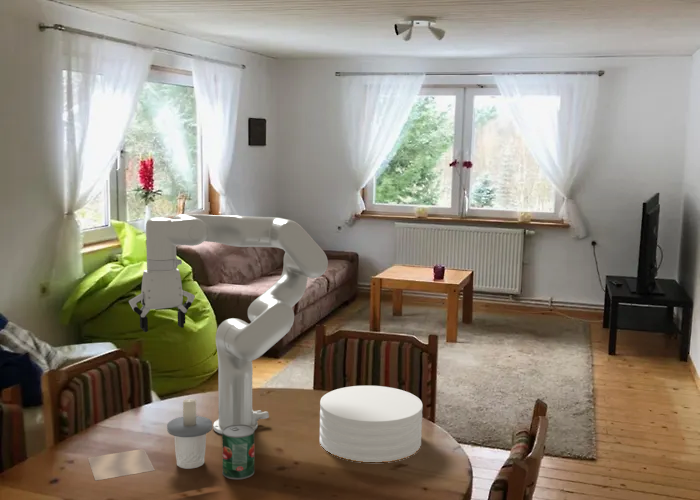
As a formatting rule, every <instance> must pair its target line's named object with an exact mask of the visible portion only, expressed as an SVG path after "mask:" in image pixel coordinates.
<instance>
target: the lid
mask: <svg viewBox="0 0 700 500" xmlns="http://www.w3.org/2000/svg"><path fill="white" fill-rule="evenodd" d="M182 409H183V410H182V416H180V417H176V418H173V419H172V420H170V421H169V422H167V424H166V426H167V427H166V429H167V433H168V434H169V435H171V436H173V437H174V436H177V437H196V436H201V435H204V434H206V435H207V434H209V433H210V432H211V431H212V430H213V421H212V420H211V419H210V418H208V417H205V416H201V415H197V400H196V399H194V398H185V399H183V401H182Z"/></svg>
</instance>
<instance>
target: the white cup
mask: <svg viewBox="0 0 700 500" xmlns="http://www.w3.org/2000/svg"><path fill="white" fill-rule="evenodd" d="M173 437H174V438H173V439H174V450H175V460H176V467H177V466H178V467H179V468H181V469H188V470H189V469H195V468H199V467H201V466H203V465H204V464H205V456H206V444H207V443H206V441H207V440H206V439H207V433H206V434H204V435H201V436H196V437H177V436H173Z"/></svg>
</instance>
